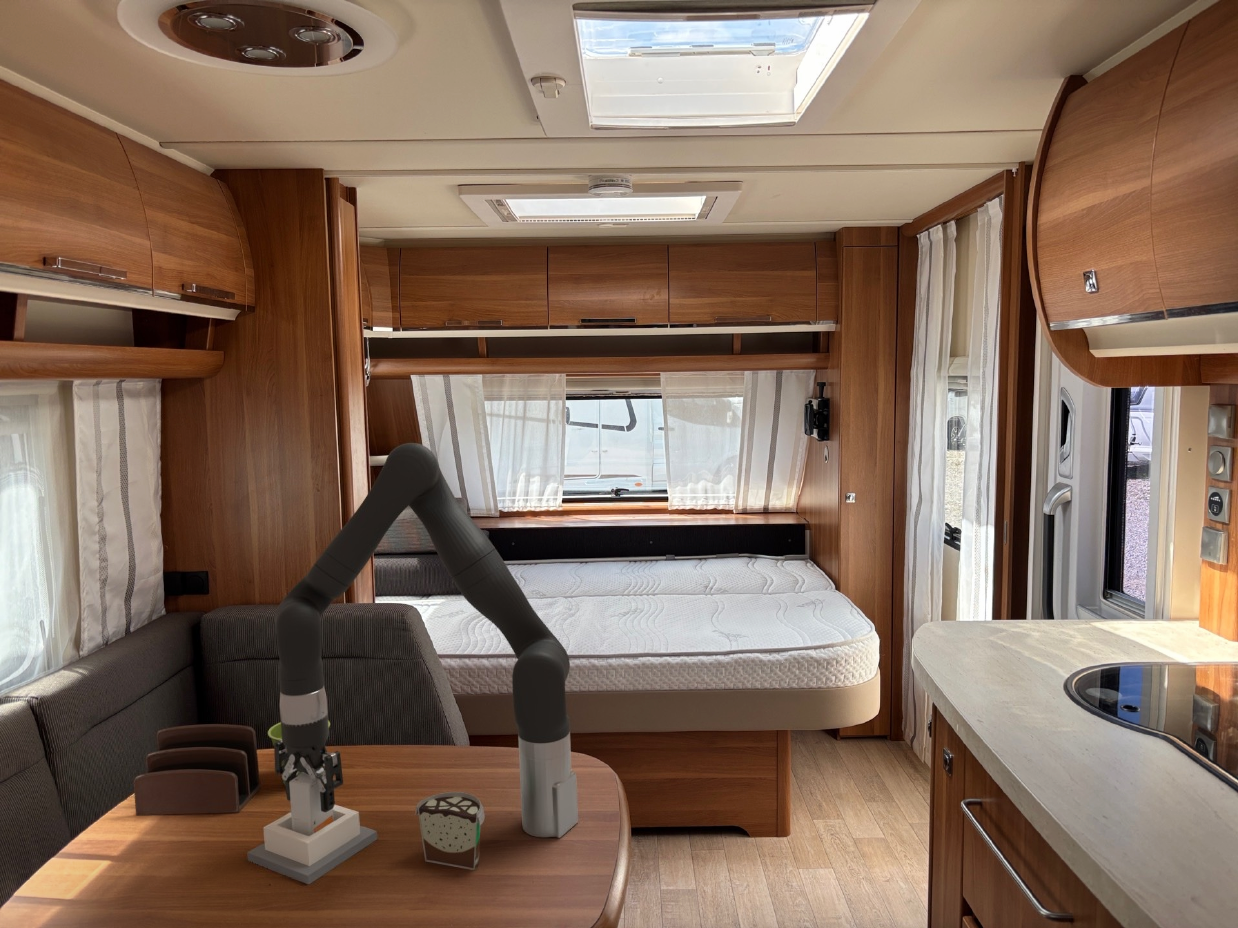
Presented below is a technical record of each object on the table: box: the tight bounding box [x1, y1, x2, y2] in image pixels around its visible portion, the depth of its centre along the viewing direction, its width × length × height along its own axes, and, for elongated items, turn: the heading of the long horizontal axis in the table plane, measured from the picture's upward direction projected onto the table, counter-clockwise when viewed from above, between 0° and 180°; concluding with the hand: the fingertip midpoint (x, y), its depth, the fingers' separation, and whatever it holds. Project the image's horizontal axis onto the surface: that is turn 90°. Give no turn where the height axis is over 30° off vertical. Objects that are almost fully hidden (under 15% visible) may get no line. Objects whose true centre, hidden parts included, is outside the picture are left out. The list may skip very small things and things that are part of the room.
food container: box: [414, 791, 486, 871], centre depth 142 cm, size 12×6×10 cm, turn 71°
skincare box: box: [289, 767, 334, 836], centre depth 145 cm, size 6×4×12 cm
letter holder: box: [133, 723, 261, 816], centre depth 163 cm, size 10×20×14 cm, turn 90°
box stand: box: [246, 804, 378, 885], centre depth 145 cm, size 15×15×6 cm
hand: (310, 804), depth 145 cm, fingers open, 8 cm apart
